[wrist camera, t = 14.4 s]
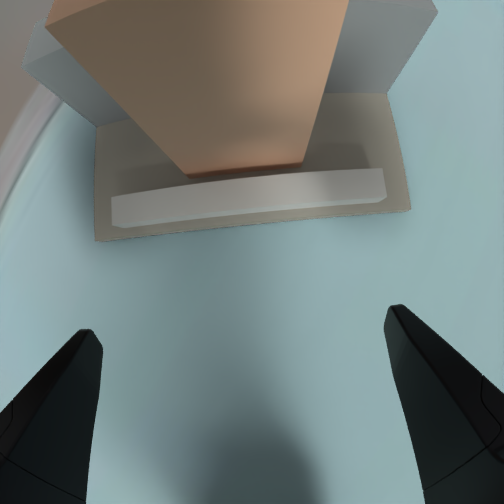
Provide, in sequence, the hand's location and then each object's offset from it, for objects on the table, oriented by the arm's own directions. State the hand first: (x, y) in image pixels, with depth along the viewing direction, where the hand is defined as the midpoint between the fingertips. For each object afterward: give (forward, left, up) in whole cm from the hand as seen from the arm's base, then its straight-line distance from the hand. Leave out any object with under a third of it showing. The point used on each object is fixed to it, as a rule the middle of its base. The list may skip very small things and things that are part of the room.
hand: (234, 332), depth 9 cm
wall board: (+5, -7, -8) cm, 12 cm away
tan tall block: (+5, -7, -8) cm, 12 cm away
